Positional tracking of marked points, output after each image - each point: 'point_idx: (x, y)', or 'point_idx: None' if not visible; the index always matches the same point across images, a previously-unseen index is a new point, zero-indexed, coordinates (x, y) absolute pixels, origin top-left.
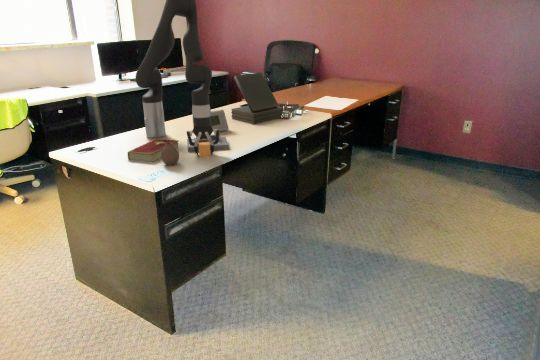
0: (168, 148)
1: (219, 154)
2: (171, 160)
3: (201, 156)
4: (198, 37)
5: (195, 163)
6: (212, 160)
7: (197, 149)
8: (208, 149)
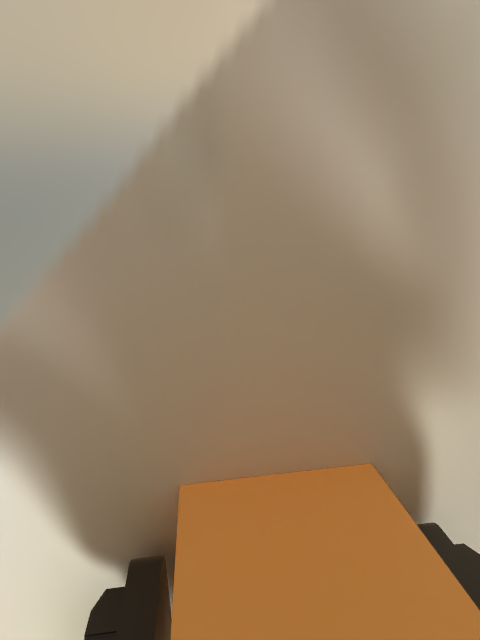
0: None
1: (7, 554)
2: None
3: (342, 469)
4: None
5: (475, 74)
6: (128, 206)
7: None
8: (211, 584)
